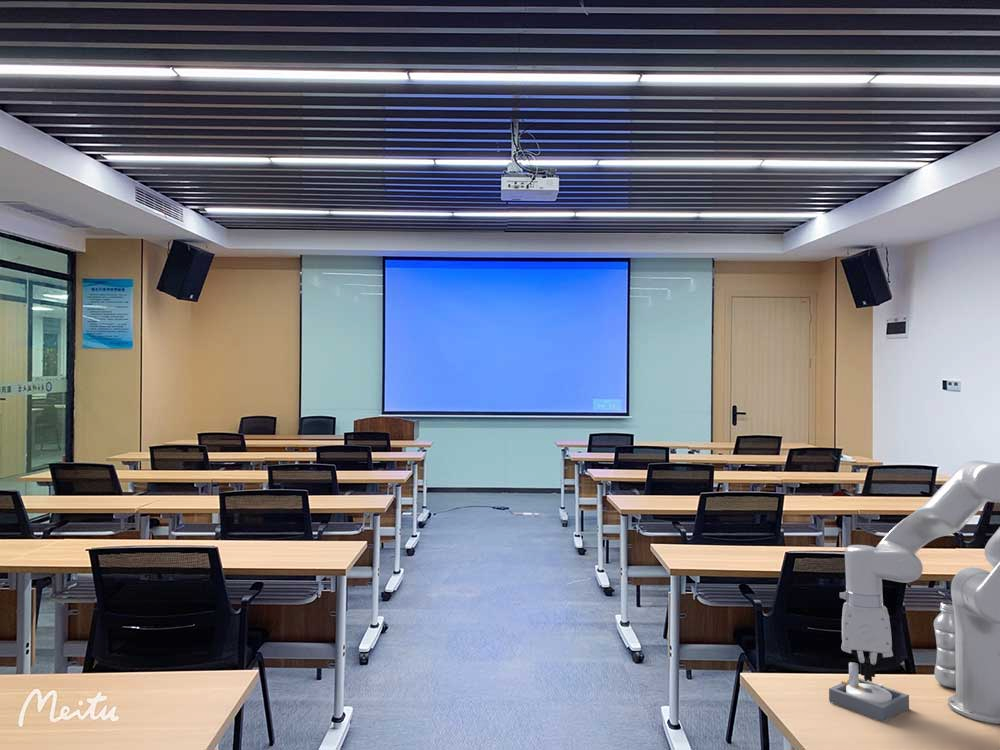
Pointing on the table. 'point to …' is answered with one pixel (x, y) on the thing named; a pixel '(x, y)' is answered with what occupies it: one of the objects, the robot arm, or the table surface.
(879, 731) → the table surface
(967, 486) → the robot arm
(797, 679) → the table surface
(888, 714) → the housing
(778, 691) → the table surface
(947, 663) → the plastic bottle
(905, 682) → the table surface
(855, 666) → the white crank wheel
